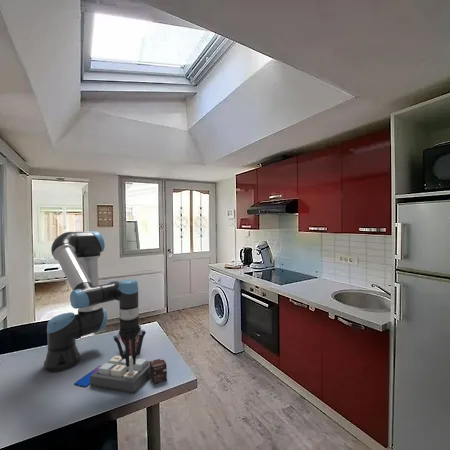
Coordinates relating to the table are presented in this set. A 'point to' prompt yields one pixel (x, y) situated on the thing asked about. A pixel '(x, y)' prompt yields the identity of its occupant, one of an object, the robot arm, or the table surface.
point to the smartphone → (86, 379)
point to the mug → (130, 342)
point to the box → (158, 371)
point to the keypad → (120, 381)
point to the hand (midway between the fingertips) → (130, 372)
